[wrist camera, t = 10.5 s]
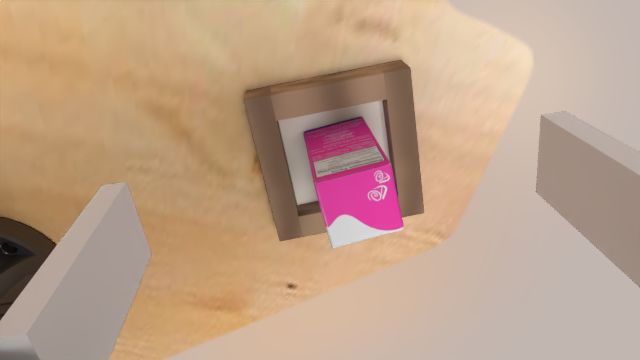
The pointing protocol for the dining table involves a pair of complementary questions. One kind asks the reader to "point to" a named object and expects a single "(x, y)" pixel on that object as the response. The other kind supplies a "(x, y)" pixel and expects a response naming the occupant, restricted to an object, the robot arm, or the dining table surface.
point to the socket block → (325, 109)
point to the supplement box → (352, 182)
